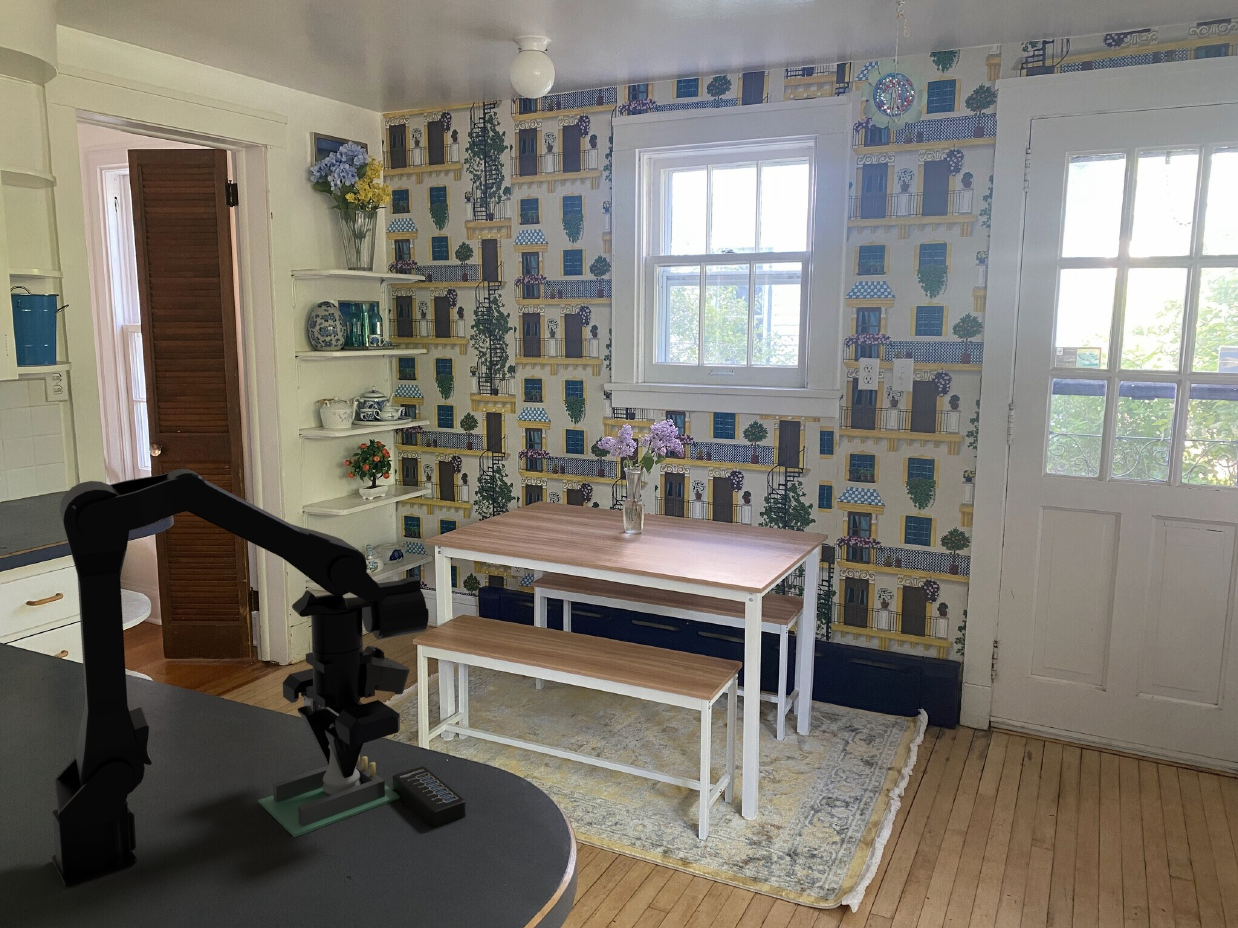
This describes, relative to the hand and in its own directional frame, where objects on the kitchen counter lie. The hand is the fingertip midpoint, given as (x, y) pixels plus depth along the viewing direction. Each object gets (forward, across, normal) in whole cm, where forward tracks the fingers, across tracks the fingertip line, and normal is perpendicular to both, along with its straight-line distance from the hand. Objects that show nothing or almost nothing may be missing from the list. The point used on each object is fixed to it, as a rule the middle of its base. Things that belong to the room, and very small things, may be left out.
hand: (340, 770), depth 108 cm
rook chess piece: (+2, 0, 0) cm, 3 cm away
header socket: (+3, 0, +2) cm, 4 cm away
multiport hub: (+4, -8, -7) cm, 11 cm away
